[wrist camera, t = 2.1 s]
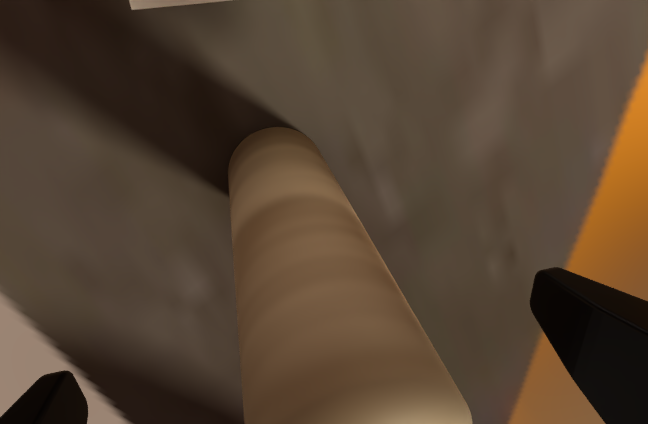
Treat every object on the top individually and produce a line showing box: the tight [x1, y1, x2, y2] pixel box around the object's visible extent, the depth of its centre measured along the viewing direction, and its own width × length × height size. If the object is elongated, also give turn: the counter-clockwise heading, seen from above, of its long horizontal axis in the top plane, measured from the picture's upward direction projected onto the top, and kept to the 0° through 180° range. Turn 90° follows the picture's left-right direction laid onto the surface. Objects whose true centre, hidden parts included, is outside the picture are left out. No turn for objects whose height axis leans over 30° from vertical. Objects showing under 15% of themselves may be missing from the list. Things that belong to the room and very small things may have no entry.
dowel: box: [228, 127, 472, 424], centre depth 10 cm, size 3×3×10 cm
